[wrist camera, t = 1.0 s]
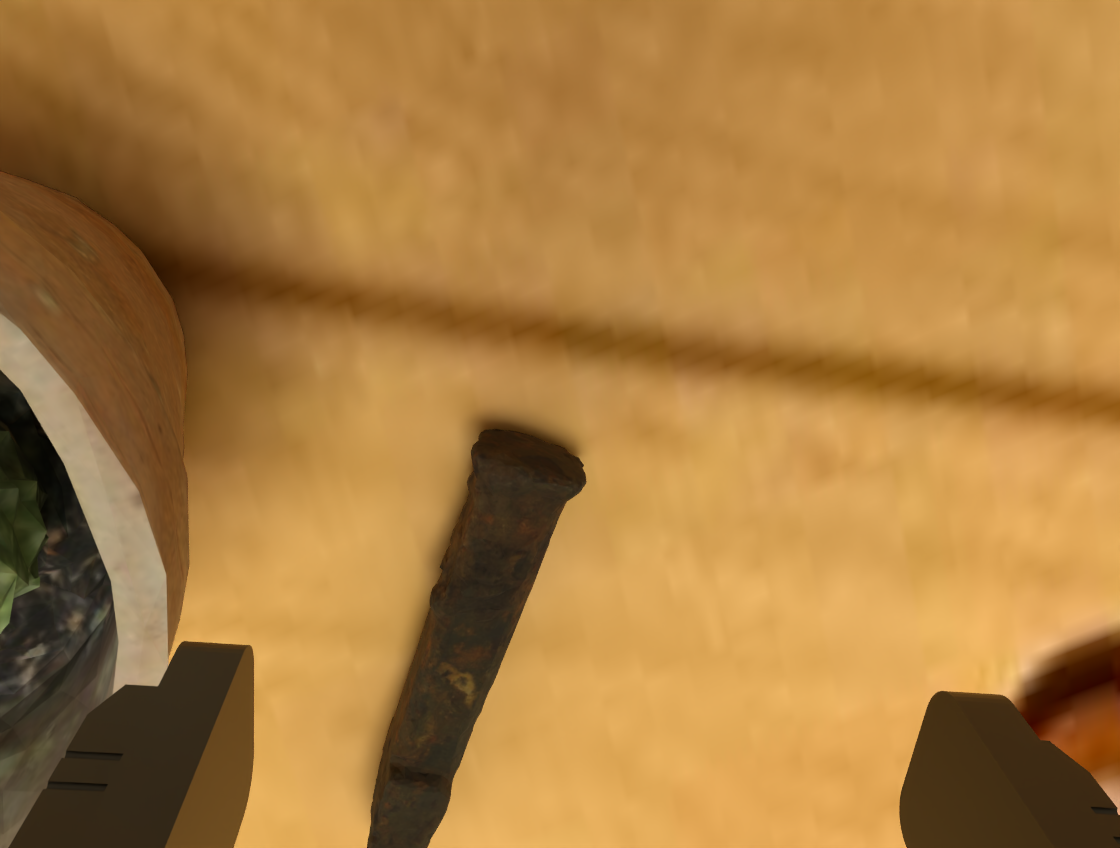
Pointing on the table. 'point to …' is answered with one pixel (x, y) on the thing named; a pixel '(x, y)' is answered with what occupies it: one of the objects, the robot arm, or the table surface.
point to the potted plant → (82, 478)
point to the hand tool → (469, 627)
